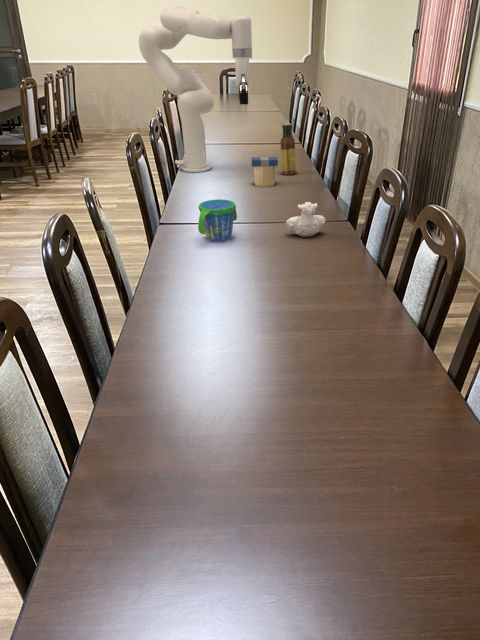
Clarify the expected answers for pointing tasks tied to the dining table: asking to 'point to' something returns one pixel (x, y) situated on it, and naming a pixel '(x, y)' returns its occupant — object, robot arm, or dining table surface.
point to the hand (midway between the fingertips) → (243, 102)
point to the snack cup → (217, 219)
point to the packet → (264, 161)
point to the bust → (305, 221)
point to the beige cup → (264, 176)
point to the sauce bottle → (288, 151)
